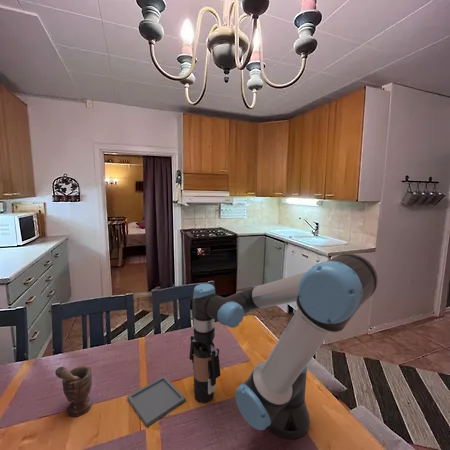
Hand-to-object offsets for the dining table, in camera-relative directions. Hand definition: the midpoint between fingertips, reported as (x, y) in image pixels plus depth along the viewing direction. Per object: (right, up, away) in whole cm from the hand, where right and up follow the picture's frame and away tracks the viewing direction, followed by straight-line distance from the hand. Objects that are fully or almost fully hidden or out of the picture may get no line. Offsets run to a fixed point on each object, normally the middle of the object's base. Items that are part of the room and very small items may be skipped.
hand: (204, 385), depth 93 cm
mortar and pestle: (-43, -5, -7) cm, 43 cm away
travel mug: (0, -4, +1) cm, 4 cm away
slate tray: (-17, -4, -2) cm, 18 cm away
